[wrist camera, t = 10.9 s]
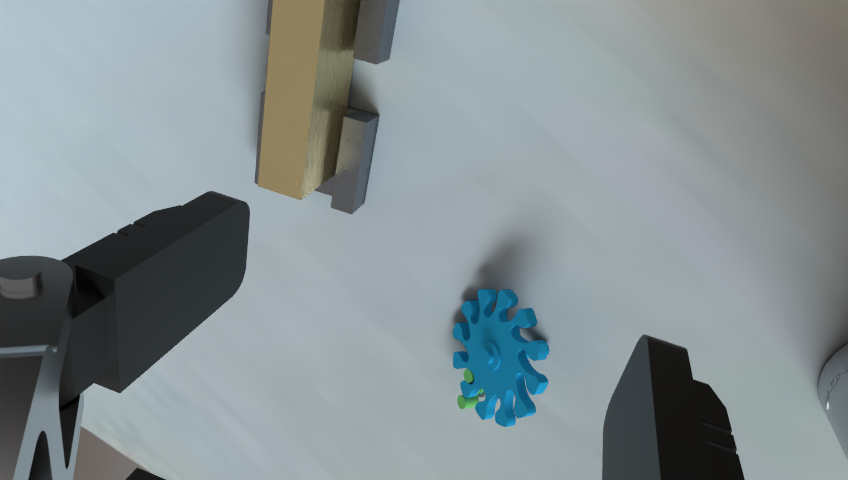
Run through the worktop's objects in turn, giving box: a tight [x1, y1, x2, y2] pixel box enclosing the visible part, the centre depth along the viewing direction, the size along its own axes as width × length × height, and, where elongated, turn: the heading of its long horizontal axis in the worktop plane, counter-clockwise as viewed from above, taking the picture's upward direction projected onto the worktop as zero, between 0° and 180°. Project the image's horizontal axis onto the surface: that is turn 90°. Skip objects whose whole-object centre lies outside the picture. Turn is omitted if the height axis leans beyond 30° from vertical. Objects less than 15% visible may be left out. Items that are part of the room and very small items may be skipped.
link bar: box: [258, 0, 361, 200], centre depth 39 cm, size 3×14×6 cm, turn 168°
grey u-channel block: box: [255, 0, 399, 214], centre depth 41 cm, size 8×18×2 cm, turn 168°
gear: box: [452, 289, 549, 427], centre depth 45 cm, size 11×6×10 cm
